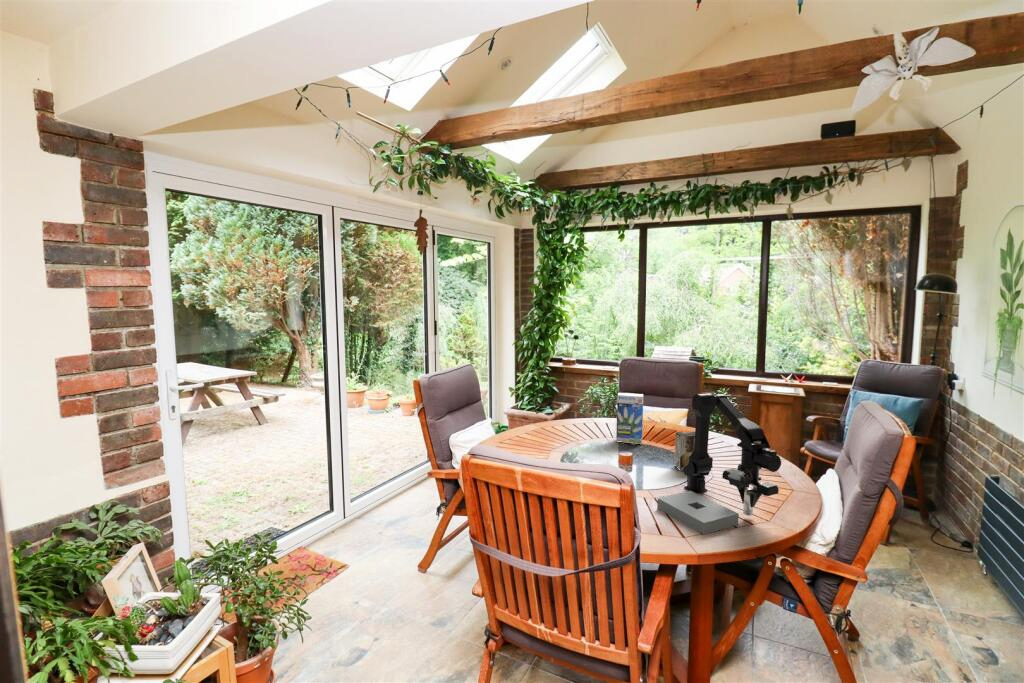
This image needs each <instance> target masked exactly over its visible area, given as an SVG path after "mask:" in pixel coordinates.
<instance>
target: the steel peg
mask: <svg viewBox="0 0 1024 683" xmlns="http://www.w3.org/2000/svg"><path fill="white" fill-rule="evenodd" d="M751 489H753V487H750V486H749V487H745V488H744V504H743V505H742V506H743V507H742V508H743V509H742V510H743V511H742V513H743V515H745V516H749V517H752V516H753V513H754V511H753V510H754V507H751V493H750V492H749V490H751Z"/></svg>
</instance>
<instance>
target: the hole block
mask: <svg viewBox="0 0 1024 683" xmlns="http://www.w3.org/2000/svg"><path fill="white" fill-rule="evenodd" d="M656 502H657V503H656V505H657V508H656V509H657V510H659V511H660V512H662V513H664V514H666V515H668V516H670V517H671V518H674V519H675V520H677V521H679V522H680V523H682V524H684V525H686V526H688V527H689V528H691V529H693V530H695V531H696V532H698V533H700V534H701V535H707V534H710V533H711V534H712V533H714V532H717V531H720V530H725V529H728V528H732V527H735V526H738V525H739V516H740V515H739V513H738V512H737V511H734V510H732V509H730V508H728V507H725V506H723V505H722V504H720V503H717V502H715V501H713V500H711V499H709V498H707V497H705V496H703V495H700V493H694V492H692V491H689V490H687V491H683V492H678V493H674V494H669V495H665V496H662V497H661V496H660V497H658V498H657V501H656Z"/></svg>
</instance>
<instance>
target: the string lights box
mask: <svg viewBox="0 0 1024 683" xmlns="http://www.w3.org/2000/svg"><path fill="white" fill-rule="evenodd" d="M616 405H617V406H616V407H617V408H616V437H615V438H616V439H615V442H616V441H622V442H633V443H642V444H643V427H644V426H643V422H644V421H643V419H644V393H632V392H618V393H617V404H616Z"/></svg>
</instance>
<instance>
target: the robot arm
mask: <svg viewBox="0 0 1024 683" xmlns="http://www.w3.org/2000/svg"><path fill="white" fill-rule="evenodd" d="M691 399H692V400H691V406H692V411H693V412H694V414H695V431H694V432H695V444H694V451H693V453H692V454H691V456H690V458H689V463H688V465H687V466H686V467H684V468H683V475H685V476H687V478H686V479H687V480H686V481H687V482H686V483H687V484H686V485H685V486H683V489H685V490H687V491H692V492H694V493H696V494H700V493H704V492H708V489H707V488H706V477H705V476H710V472H711V471H712V468H713V460H714V459H713V457H712V456H710V454H709V451H708V449H709V448H708V447H709V436H710V435H709V433H710V418H711V416H712V414H713V413H714V411H715V408H717V409H718V410H719V411H720V413H721V414H722V415H723V416H724V417H725V418H726V419H727V421H729V423H730V424H731V426H733V427H734V428H735V434H736V435H737V437H738V439H739V441H740V442H739V443H737V444H736V446H737V447H740V448H741V458H740V460H741V461H740V463H738V465H737V469H736V468H730V469H725V470H724V471H723V472H722V474H721V477H722V479H724V480H725V481H728V482H729V485H730V486H734V487H736V489H737V491H738V493H739V496H740V498H741V499H740V500H741V502H742V504H743V505H744V488H745V487H749V488H750V486H752V488H753V489H751V490H749V492H750V493H751V507H753V508H754V507H755V506H756V504H757V502H758V501H759V499H760V497H762V495H763V496H764V497H770V496H774V495H778V494H779V491H780V490H779V488H780V487H779V486H778V485H777V484H774V483H772V482H769V481H765V482H759V481H762V477H761V476H759V475H760V470H761V469H764V470H767V471H768V472H769V471H770V472H772V473H776V472H777V471H779V469H780V468H781V466H782V460H781V457H780V456H779V455H778V452H777V451H776V450H773V449H771V445H770V442H769V441H768V439H767V437H766V434H765V431H764V429H763V428H762V427H761V426H760V425H758V424H757V423H755V422H753V421H751V420H749V419H748V418H747V417H745V416H744V415H743V413H741V411H739V409H738V408H737V407H736V406H735V404H733V403H732V402H731V400H729V399H728V396H727V395H726V394H724V393H720V394H719V393H718V394H717V393H716V394H712V393H709V392H708V393H697V394H694V395H693V396H692V398H691Z"/></svg>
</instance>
